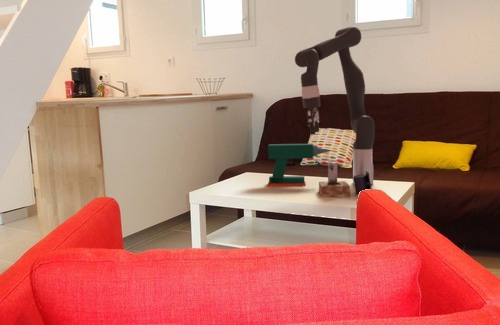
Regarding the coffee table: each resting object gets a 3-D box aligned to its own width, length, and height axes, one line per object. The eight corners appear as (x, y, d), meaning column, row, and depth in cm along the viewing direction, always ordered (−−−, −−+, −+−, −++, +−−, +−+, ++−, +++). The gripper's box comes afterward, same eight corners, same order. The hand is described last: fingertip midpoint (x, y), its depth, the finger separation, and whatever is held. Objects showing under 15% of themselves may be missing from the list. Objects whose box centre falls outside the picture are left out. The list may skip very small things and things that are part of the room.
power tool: (332, 183, 232) (332, 143, 229) (333, 185, 225) (333, 144, 222) (268, 183, 235) (268, 144, 232) (267, 186, 228) (267, 145, 225)
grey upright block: (329, 189, 210) (329, 161, 208) (338, 190, 209) (338, 161, 207) (326, 192, 203) (326, 163, 202) (335, 193, 202) (335, 163, 200)
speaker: (374, 193, 203) (371, 170, 202) (372, 196, 198) (369, 172, 197) (356, 193, 206) (354, 171, 205) (354, 197, 201) (351, 173, 200)
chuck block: (345, 190, 211) (345, 181, 210) (349, 196, 199) (349, 186, 198) (318, 191, 212) (318, 181, 211) (321, 196, 200) (321, 186, 199)
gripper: (306, 96, 210) (310, 131, 213) (298, 98, 197) (302, 136, 200) (322, 94, 208) (326, 130, 210) (316, 96, 195) (320, 134, 197)
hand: (314, 133), depth 205 cm, fingers open, 8 cm apart
